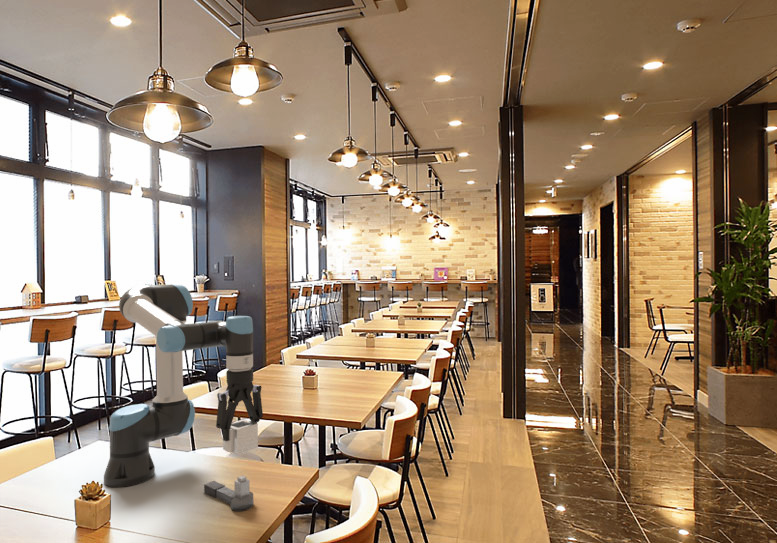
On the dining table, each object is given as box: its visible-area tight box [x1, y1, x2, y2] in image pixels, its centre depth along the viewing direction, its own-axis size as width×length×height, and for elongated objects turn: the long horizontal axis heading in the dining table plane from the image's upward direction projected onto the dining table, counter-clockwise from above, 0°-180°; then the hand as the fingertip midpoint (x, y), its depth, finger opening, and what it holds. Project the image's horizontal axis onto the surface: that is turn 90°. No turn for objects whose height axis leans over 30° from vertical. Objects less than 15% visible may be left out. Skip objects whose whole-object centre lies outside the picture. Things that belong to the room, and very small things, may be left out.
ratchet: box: [203, 475, 254, 512], centre depth 146 cm, size 20×6×8 cm, turn 53°
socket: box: [222, 419, 259, 455], centre depth 141 cm, size 7×7×7 cm
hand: (240, 447), depth 141 cm, fingers closed on socket, 7 cm apart
